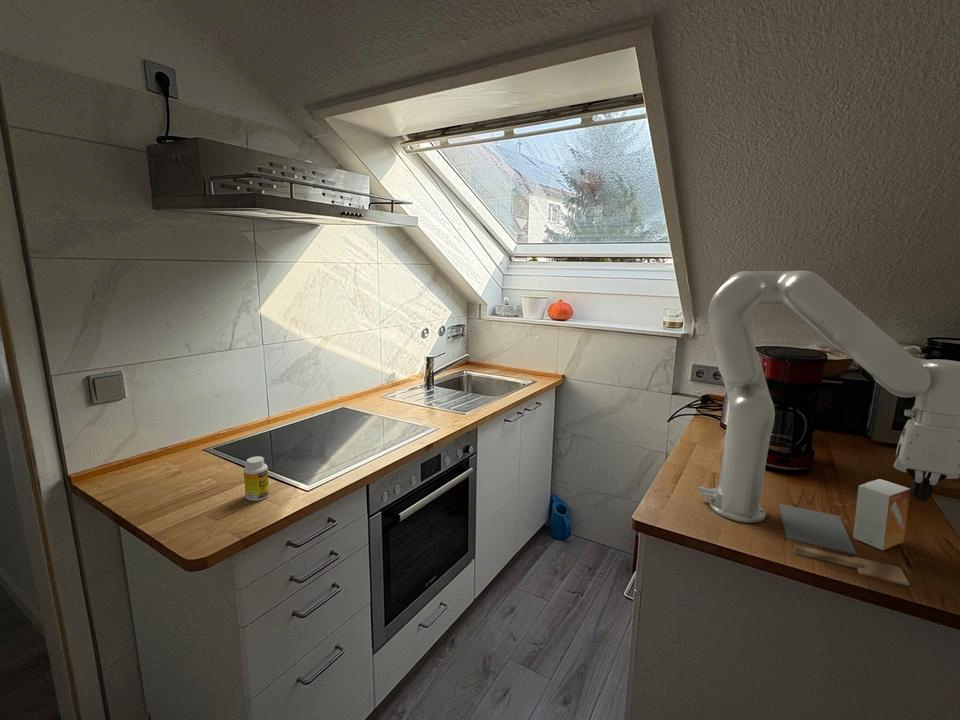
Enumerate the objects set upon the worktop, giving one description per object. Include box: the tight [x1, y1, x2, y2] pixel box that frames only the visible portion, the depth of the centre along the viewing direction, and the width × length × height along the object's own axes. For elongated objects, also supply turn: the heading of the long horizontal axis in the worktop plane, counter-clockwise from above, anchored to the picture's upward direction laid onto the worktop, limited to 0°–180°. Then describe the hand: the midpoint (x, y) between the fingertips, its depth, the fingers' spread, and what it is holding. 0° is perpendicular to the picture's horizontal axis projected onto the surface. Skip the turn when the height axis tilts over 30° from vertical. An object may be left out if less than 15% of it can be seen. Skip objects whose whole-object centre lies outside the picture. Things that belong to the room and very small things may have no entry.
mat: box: [778, 503, 857, 556], centre depth 116 cm, size 13×18×1 cm
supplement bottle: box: [243, 455, 270, 502], centre depth 123 cm, size 6×6×10 cm
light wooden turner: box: [793, 544, 911, 587], centre depth 102 cm, size 19×6×1 cm, turn 64°
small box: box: [852, 478, 911, 551], centre depth 110 cm, size 8×6×13 cm
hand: (919, 498), depth 106 cm, fingers closed
